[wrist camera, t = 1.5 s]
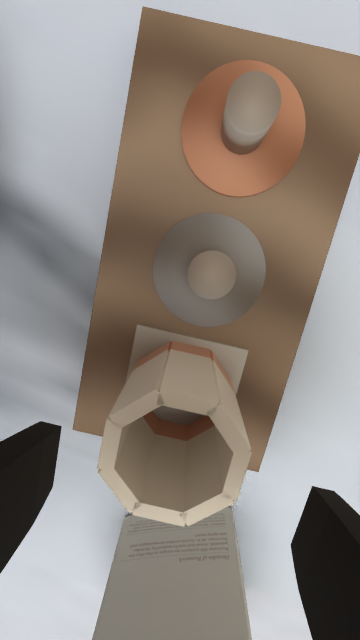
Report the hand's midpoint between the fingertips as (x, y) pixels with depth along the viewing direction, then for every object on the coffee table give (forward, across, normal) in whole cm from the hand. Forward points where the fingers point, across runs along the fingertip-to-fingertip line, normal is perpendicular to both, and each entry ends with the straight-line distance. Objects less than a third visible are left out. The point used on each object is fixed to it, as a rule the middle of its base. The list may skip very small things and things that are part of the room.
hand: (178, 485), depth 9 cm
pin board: (+10, 0, -6) cm, 11 cm away
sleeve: (+8, 0, +1) cm, 8 cm away
